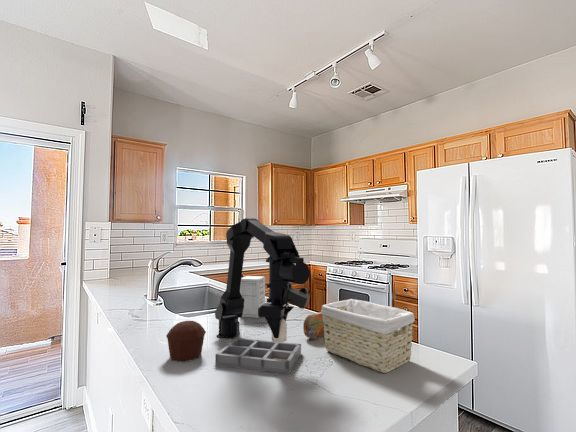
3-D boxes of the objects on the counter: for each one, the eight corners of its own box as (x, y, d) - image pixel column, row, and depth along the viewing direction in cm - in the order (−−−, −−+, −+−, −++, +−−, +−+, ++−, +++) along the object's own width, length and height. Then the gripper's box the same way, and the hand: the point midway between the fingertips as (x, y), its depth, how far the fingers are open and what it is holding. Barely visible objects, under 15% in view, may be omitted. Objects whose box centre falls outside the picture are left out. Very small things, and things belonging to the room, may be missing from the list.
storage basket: (417, 362, 93) (417, 310, 94) (386, 378, 83) (385, 320, 83) (351, 340, 111) (351, 297, 112) (319, 352, 101) (319, 304, 101)
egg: (269, 341, 88) (269, 319, 89) (274, 336, 92) (274, 315, 93) (284, 343, 87) (284, 320, 88) (288, 338, 91) (288, 316, 92)
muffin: (188, 366, 90) (189, 329, 90) (157, 360, 93) (157, 325, 94) (212, 351, 101) (213, 319, 101) (183, 346, 104) (184, 315, 105)
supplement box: (265, 313, 148) (265, 276, 149) (259, 318, 139) (259, 279, 140) (246, 311, 150) (246, 275, 151) (238, 316, 141) (239, 278, 142)
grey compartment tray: (215, 365, 90) (215, 354, 90) (236, 347, 104) (236, 337, 105) (288, 374, 85) (288, 362, 85) (300, 353, 99) (300, 343, 99)
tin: (308, 342, 109) (308, 317, 110) (301, 339, 112) (301, 315, 112) (336, 333, 120) (336, 310, 120) (329, 331, 122) (329, 308, 122)
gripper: (299, 286, 80) (299, 350, 79) (313, 276, 98) (313, 328, 97) (257, 284, 82) (256, 345, 82) (278, 274, 101) (278, 325, 100)
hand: (278, 335), depth 90 cm, fingers closed on egg, 4 cm apart
